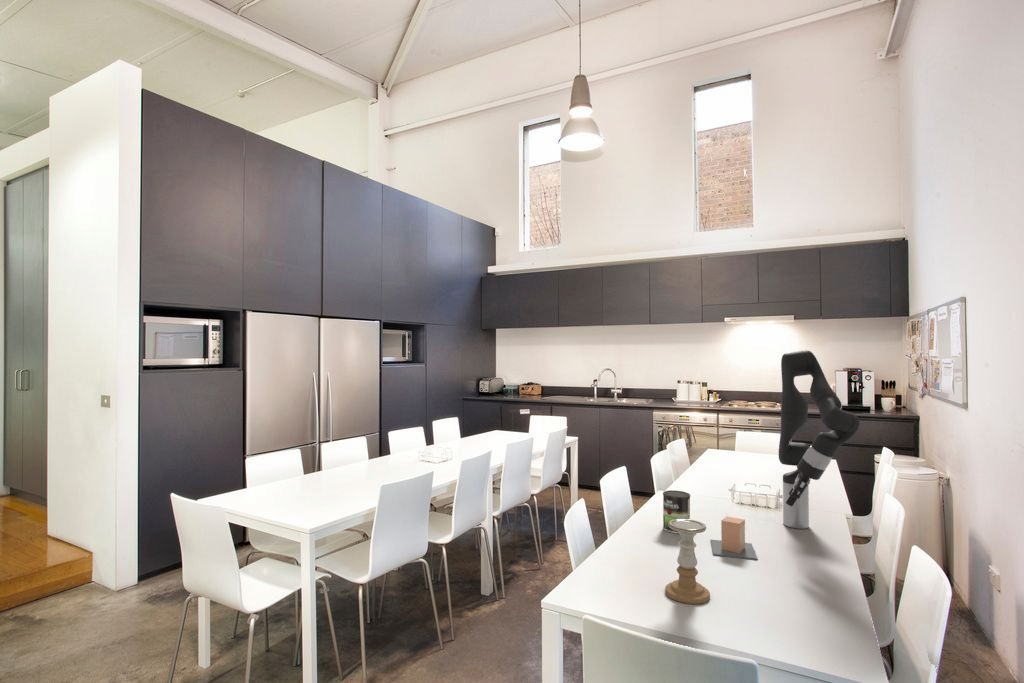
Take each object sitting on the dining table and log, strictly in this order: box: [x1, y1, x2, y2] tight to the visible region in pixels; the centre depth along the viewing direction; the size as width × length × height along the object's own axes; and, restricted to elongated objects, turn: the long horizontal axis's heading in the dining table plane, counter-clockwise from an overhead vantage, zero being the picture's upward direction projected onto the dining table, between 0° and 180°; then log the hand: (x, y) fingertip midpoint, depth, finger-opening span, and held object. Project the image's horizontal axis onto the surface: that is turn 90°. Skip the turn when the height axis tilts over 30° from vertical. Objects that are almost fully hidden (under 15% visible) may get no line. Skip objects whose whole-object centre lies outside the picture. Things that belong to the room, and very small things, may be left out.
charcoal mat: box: [710, 539, 759, 561], centre depth 190 cm, size 15×14×1 cm
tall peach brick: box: [720, 516, 746, 553], centre depth 190 cm, size 6×6×10 cm
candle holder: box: [664, 519, 711, 605], centre depth 155 cm, size 12×12×20 cm
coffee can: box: [662, 489, 691, 535], centre depth 212 cm, size 10×10×14 cm
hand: (790, 500), depth 186 cm, fingers open, 8 cm apart
